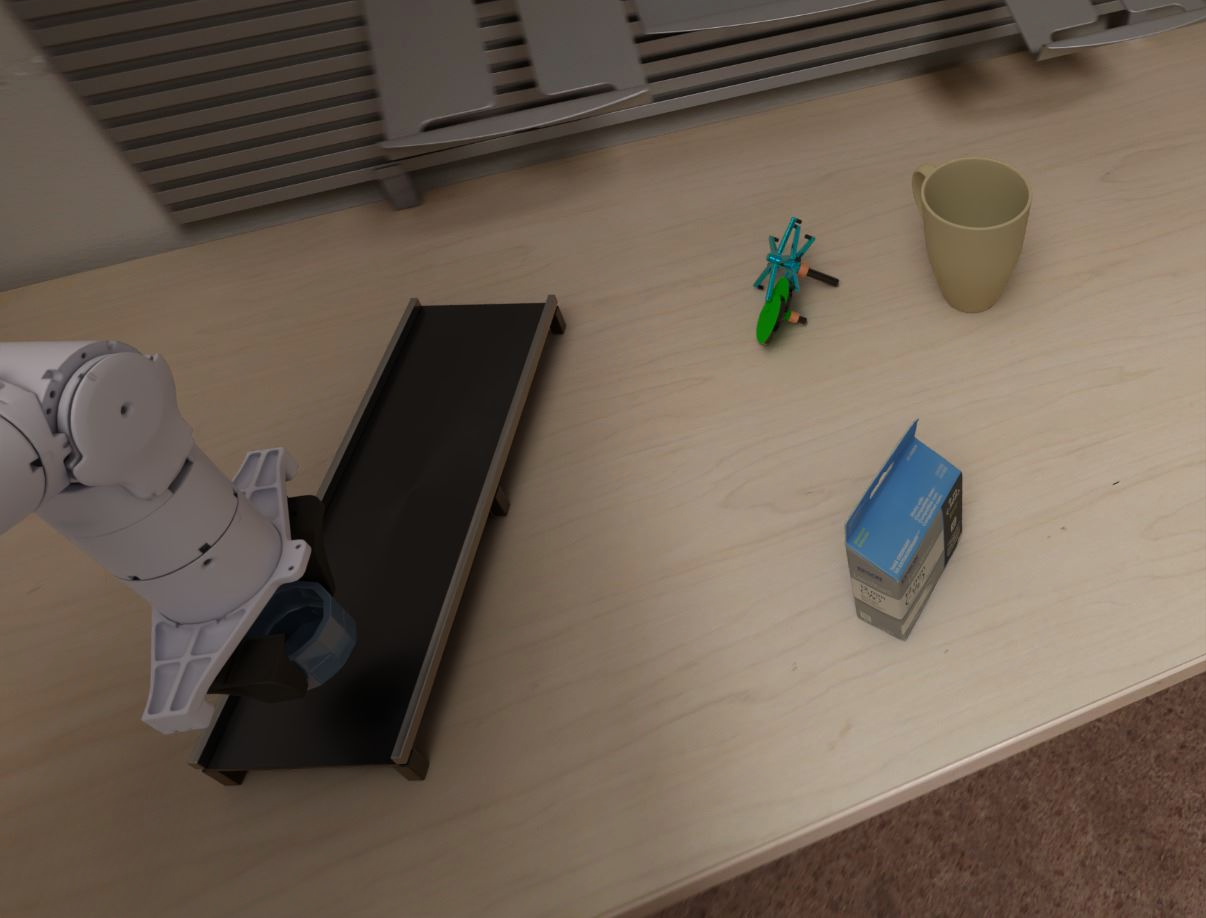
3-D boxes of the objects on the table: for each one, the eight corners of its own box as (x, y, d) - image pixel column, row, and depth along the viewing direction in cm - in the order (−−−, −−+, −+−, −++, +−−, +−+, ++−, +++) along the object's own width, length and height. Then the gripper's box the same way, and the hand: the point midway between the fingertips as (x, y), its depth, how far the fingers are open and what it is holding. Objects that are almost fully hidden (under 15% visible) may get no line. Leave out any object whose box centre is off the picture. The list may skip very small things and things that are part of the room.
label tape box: (904, 645, 62) (901, 554, 53) (851, 615, 63) (840, 523, 54) (963, 536, 67) (970, 438, 58) (913, 512, 69) (912, 412, 60)
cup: (296, 715, 53) (261, 688, 50) (250, 663, 55) (214, 633, 52) (377, 643, 56) (348, 613, 53) (330, 595, 58) (301, 564, 55)
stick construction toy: (757, 232, 87) (795, 199, 81) (822, 258, 90) (864, 228, 84) (731, 352, 81) (771, 326, 75) (803, 375, 84) (846, 352, 78)
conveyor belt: (426, 780, 56) (400, 758, 53) (222, 785, 56) (185, 763, 53) (567, 325, 82) (555, 294, 79) (428, 328, 82) (410, 297, 79)
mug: (1029, 259, 87) (1041, 158, 79) (1012, 339, 80) (1023, 237, 72) (915, 240, 89) (914, 139, 81) (888, 316, 82) (885, 215, 74)
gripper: (205, 663, 40) (342, 767, 49) (304, 391, 50) (402, 520, 60) (26, 691, 39) (199, 791, 49) (164, 409, 50) (285, 537, 59)
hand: (303, 643), depth 54 cm, fingers closed on cup, 5 cm apart
